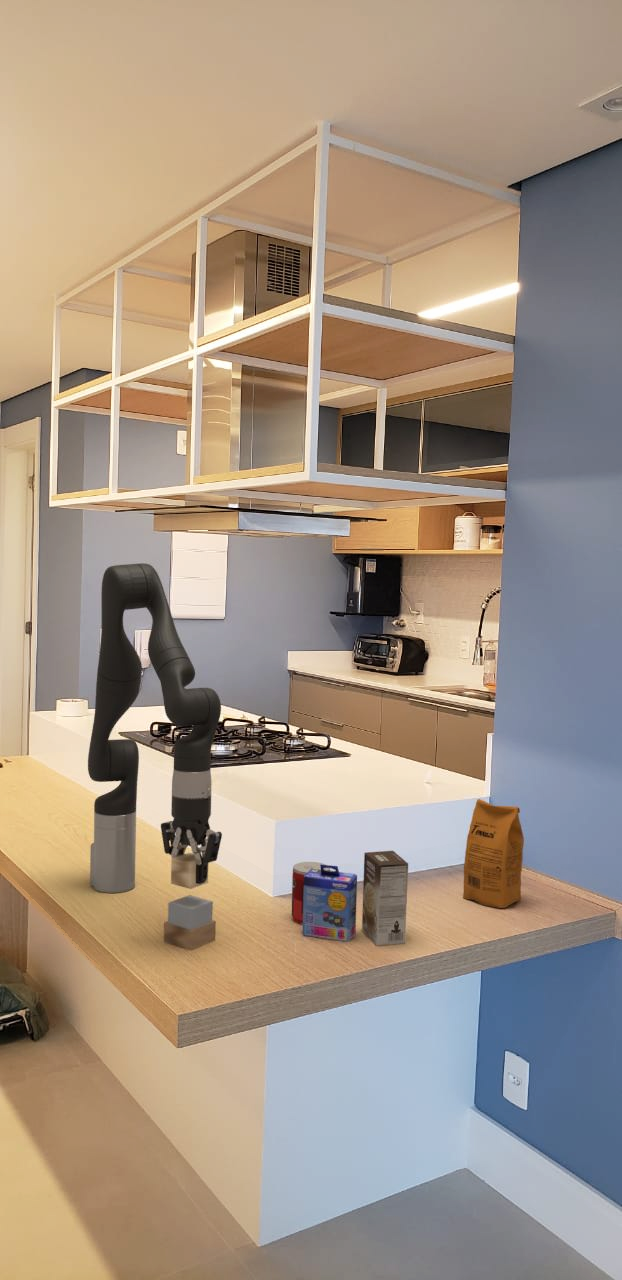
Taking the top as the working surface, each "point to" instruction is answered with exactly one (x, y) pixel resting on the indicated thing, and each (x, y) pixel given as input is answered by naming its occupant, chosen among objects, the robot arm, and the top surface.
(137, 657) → the robot arm
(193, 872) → the oak cube
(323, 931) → the ink cartridge box
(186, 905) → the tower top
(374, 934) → the coffee box
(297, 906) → the canned food
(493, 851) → the coffee package
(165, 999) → the top surface
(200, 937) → the tower base
